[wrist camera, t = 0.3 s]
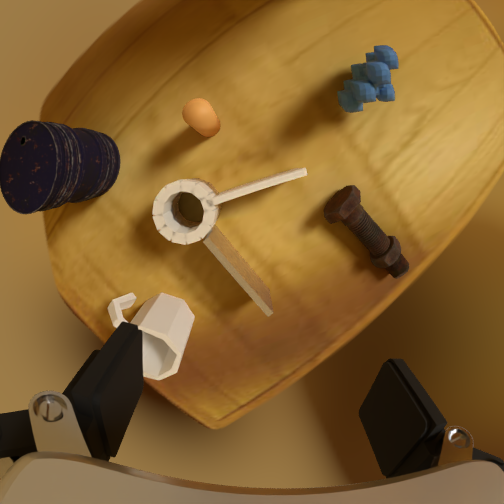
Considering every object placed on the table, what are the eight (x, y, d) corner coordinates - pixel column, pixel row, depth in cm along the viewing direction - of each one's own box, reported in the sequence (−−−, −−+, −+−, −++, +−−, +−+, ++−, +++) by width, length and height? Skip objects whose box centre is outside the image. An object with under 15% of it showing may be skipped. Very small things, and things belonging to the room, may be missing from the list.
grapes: (355, 139, 35) (396, 128, 23) (314, 108, 34) (342, 84, 22) (392, 82, 32) (437, 59, 21) (355, 53, 31) (391, 18, 20)
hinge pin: (210, 110, 34) (199, 92, 25) (225, 127, 35) (218, 113, 26) (192, 124, 34) (176, 111, 26) (206, 141, 35) (194, 132, 26)
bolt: (387, 266, 42) (325, 199, 39) (412, 250, 39) (352, 178, 36) (389, 292, 38) (321, 221, 34) (417, 276, 35) (352, 198, 31)
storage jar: (125, 191, 37) (64, 205, 22) (71, 204, 37) (4, 223, 22) (117, 123, 34) (55, 105, 19) (63, 141, 34) (-4, 137, 20)
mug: (205, 315, 42) (194, 353, 32) (175, 350, 43) (160, 390, 34) (139, 266, 39) (111, 293, 30) (114, 305, 41) (86, 337, 32)
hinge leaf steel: (198, 168, 36) (186, 167, 29) (286, 276, 40) (294, 297, 33) (159, 202, 37) (141, 209, 30) (247, 304, 41) (247, 330, 34)
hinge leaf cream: (180, 238, 38) (166, 252, 31) (162, 190, 36) (144, 194, 30) (303, 196, 37) (316, 202, 30) (287, 146, 35) (296, 140, 28)
